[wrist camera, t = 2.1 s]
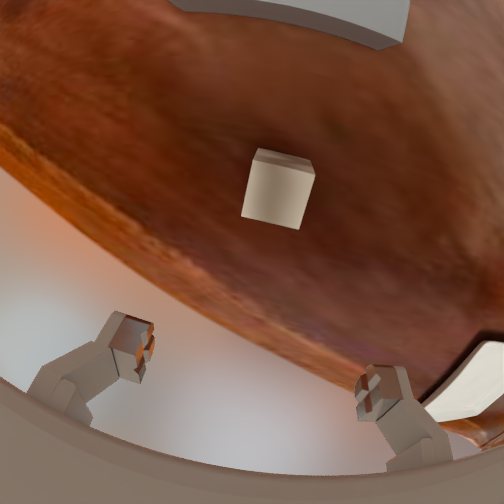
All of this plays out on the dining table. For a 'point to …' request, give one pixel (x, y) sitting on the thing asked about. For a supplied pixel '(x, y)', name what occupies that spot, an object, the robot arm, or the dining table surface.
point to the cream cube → (278, 188)
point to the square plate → (470, 385)
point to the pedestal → (321, 16)
